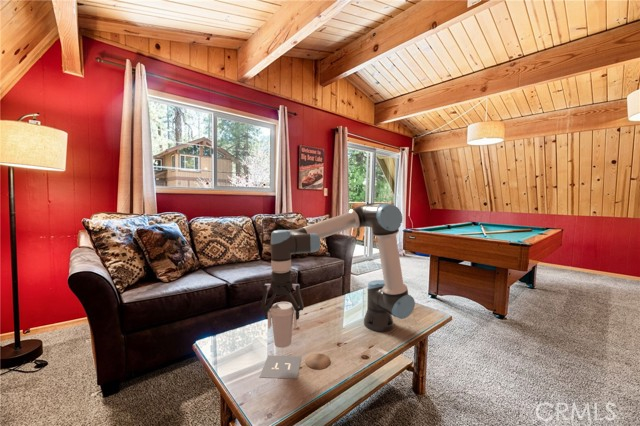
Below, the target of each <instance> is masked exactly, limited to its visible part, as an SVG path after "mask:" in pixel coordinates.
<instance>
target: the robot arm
mask: <svg viewBox="0 0 640 426" xmlns="http://www.w3.org/2000/svg"><path fill="white" fill-rule="evenodd" d="M402 223H403V214H402V212H401V209H400V208H399V207H397V206H396V205H394V204H392V203H386V202H385V203H384V202H381V203H380V202H377V203H374V202H373V203H371V202H370V203H366V204H363V205H359V206H357V207H355V208H352V209H349V210H348V212H345V213H343V214H340V215H337V216H333V217H330V218H327V219H325V220H321V221H319V222H315V223H311V224H309V225H306V226H304V227H300V228H299V227H298V228H296V229H277V230H273V231H272V232H271V234H270V250H271V251H270V252H271V253H270V254H271V256H270V257H271V261H270V263H271V283H267V282H266V283H264V285H263V294H262V297H261V298H262V299H261V303H260V307H259V309H260V310H261V311H264V317H265V320H267V329H269V330H270V329H271V327H272V326H273V324H272V316H271V313H270V310H271V307H272V305H273V304H272V303H273V302H274V300H275V298H276V296H281V295H283V296H285V295H286V297H287V299H288V300H289V303H291V304H292V305H293V307H294V309H295V311H294V313H293V330H297V327H298V323H297V322H298V320H299V319H300V311H303V310H304V307H305V305H304V302H303V301H304V300H303V298H302V295H301V291H300V286H301V284H300V283H293V282H292V281H293V280H292V270H291V269H292V255H296V254H297V255H298V254H308V253H309V254H310V253H315V252H316V253H317V252H318V251H319V250H320V249H321V239H324V238H328V237H329V236H333V235H336V234H338V233H341V232H344V231H347V230H349V229H353V228H354V229H360V228H363V227H367V228H368V227H369V228H371V230H372V234H373V236H374V237H375V238H376V239H377V247H378V252H379V253H378V254H379V259H380V264H381V269H382V270H381V272H382V277H383V280H382V279H378V280H377V279H376V280H370V281H369V282H368V284H367V310H366V311H365V315H364V318H363V325H364V326H365V328H367V329H369V330H371V331H375V332H388V331H391V330H392V329H393V328H394V320H393V317H395V318H397V319H400V320H402V319H403V320H404V319H406V318H409V316H411V314H412V313H413V311H414V310H415V306H416V305H415V303H416V301H415V298H414V297H413V296H411V295H410V294H409V290H408V286H407V285H406V284H405V283H404V280H403V272H402V266H401V260H400V252H399V246H398V240H397V234H398V233H400V232H399V229H400V228H401V225H402ZM292 288H293V290H294V291H295V296H296V298H297V301H296V299H295V297H294V295H293V294H292V291H291V290H292ZM270 289H271V290H272V291H273V293H272V295H271V297H270V299H269V301H268V303H267V305H266V301H267V298H268V294H269V291H270Z"/></svg>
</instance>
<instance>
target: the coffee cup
mask: <svg viewBox="0 0 640 426" xmlns="http://www.w3.org/2000/svg"><path fill="white" fill-rule="evenodd" d="M270 309H271V310H270V313H271V324H272V331H273V333H272V334H273V340H274V341H273V343H274V346H275V347H277V348H287V347H289V346H290V345H292V338H293V326H294V311H295V309H294V307H293V305H292V304H291V302H290V301H280V302H276V303H273V304H271V307H270Z"/></svg>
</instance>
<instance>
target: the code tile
mask: <svg viewBox="0 0 640 426" xmlns="http://www.w3.org/2000/svg"><path fill="white" fill-rule="evenodd" d="M301 361H302V356H299V355H298V356H297V355H271V354H268V355H267V358H266V360H265V362H264V364H263V367H262V370H261V372H260V374H259V378H264V379H267V378H268V379H292V380H293V379H295V380H297V379H298V376H299V373H300V372H299V370H300V366H301Z"/></svg>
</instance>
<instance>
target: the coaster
mask: <svg viewBox="0 0 640 426" xmlns="http://www.w3.org/2000/svg"><path fill="white" fill-rule="evenodd" d="M330 364H331V359H330V357H329V356H327V355H326V354H324V353H312V354H310V355H308V356H306V358H305V365H306V366H307V367H308V368H310V369H313V370H323V369H326V368H327V367H329V365H330Z"/></svg>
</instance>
